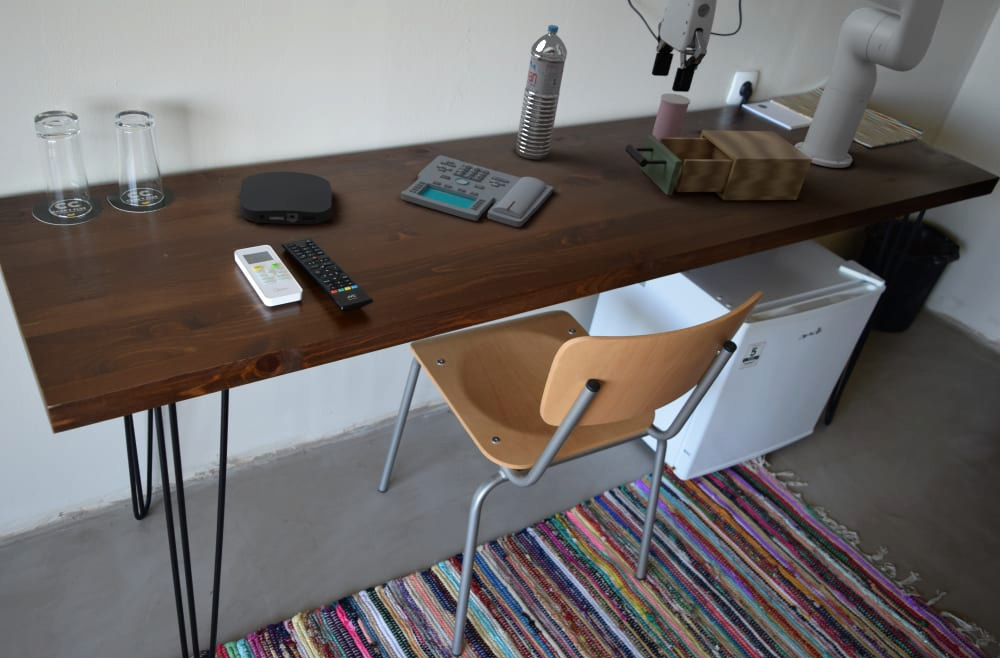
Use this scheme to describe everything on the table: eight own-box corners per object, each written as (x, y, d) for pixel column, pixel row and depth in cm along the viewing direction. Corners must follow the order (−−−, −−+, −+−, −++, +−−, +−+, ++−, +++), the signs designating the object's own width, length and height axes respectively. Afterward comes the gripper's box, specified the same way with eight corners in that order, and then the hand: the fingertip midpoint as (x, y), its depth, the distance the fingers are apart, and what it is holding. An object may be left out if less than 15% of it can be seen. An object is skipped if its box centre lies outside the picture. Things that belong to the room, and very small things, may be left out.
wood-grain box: (723, 200, 156) (737, 158, 151) (690, 170, 167) (702, 129, 162) (796, 199, 160) (812, 159, 155) (759, 170, 171) (773, 131, 166)
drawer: (639, 195, 152) (648, 161, 148) (613, 166, 161) (621, 134, 157) (738, 194, 157) (749, 161, 153) (706, 167, 167) (716, 135, 163)
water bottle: (546, 163, 161) (569, 33, 147) (512, 157, 162) (533, 27, 147) (550, 151, 167) (573, 25, 152) (517, 145, 168) (537, 19, 153)
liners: (657, 147, 176) (671, 91, 169) (680, 156, 173) (696, 100, 165) (641, 152, 172) (655, 96, 165) (664, 162, 169) (679, 105, 162)
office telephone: (555, 179, 149) (521, 221, 134) (552, 192, 151) (519, 235, 135) (440, 148, 155) (395, 184, 139) (439, 160, 156) (394, 198, 141)
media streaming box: (329, 187, 142) (329, 171, 140) (332, 226, 130) (333, 209, 128) (243, 184, 139) (242, 168, 137) (239, 224, 127) (238, 207, 125)
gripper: (742, -7, 130) (710, 100, 141) (693, -32, 144) (667, 68, 154) (701, -10, 128) (672, 99, 139) (655, -35, 142) (631, 67, 152)
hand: (669, 82), depth 146 cm, fingers open, 7 cm apart
